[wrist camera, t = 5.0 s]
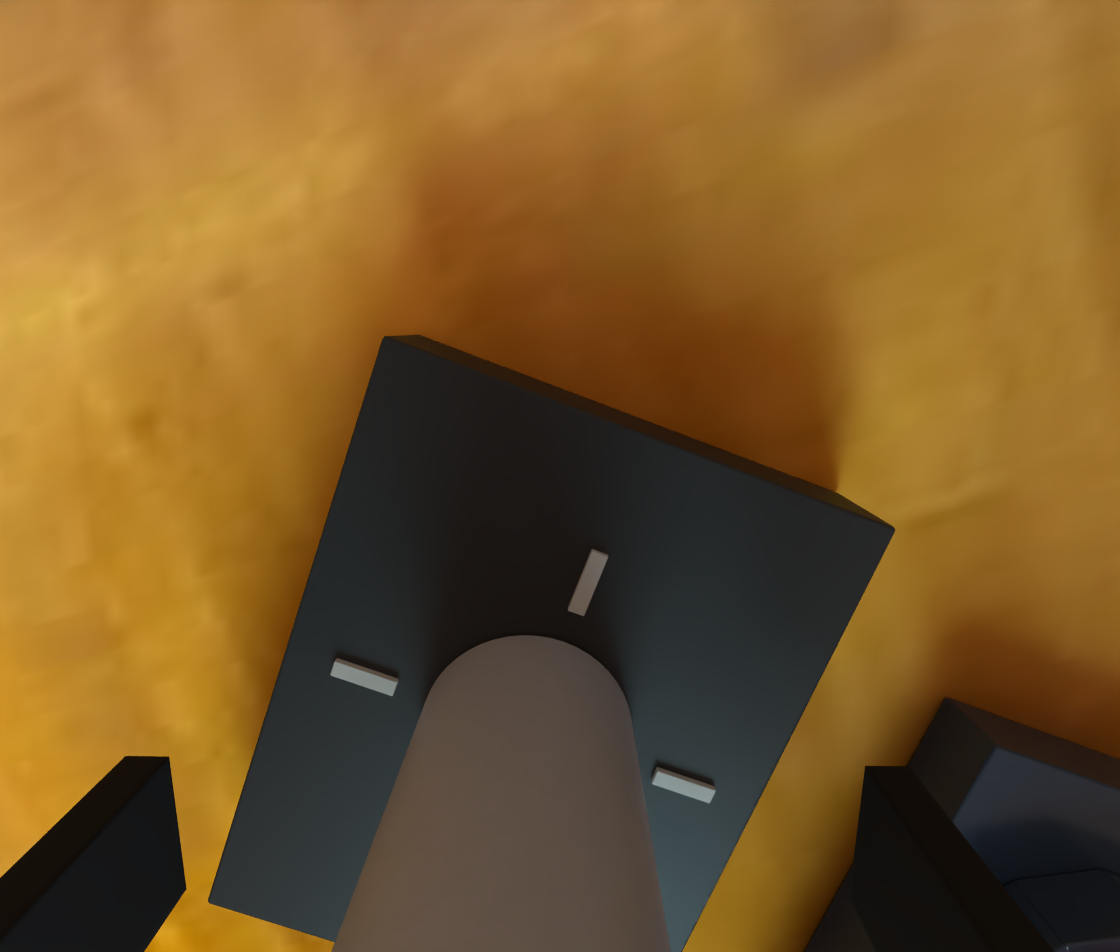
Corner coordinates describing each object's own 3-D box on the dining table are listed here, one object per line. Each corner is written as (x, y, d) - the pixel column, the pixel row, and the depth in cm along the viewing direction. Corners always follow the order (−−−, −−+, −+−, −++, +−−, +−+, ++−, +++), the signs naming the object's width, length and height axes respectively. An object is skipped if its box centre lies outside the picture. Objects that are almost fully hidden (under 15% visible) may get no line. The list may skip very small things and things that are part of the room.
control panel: (416, 333, 16) (380, 334, 13) (839, 493, 17) (901, 531, 13) (262, 813, 19) (201, 909, 16) (628, 931, 19) (640, 1044, 16)
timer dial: (416, 812, 15) (243, 1376, 7) (427, 624, 14) (240, 1024, 6) (619, 830, 15) (680, 1410, 7) (644, 644, 14) (750, 1069, 6)
